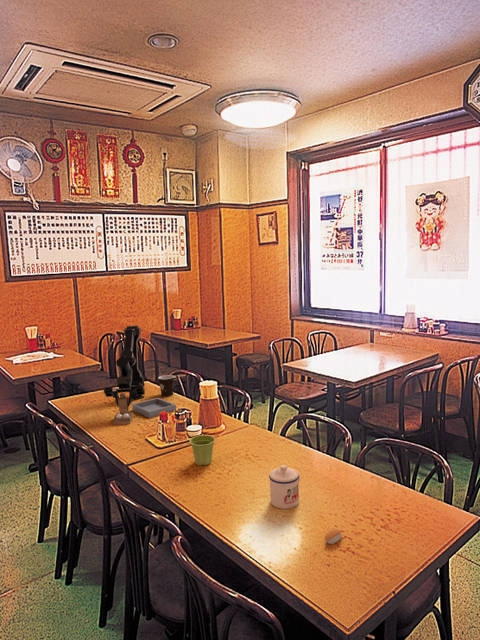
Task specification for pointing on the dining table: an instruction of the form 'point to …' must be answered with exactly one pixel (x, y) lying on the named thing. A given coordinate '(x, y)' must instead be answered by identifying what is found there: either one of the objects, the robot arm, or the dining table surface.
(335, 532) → the sushi
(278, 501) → the teacup with lid
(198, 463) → the plant pot
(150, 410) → the bin
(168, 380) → the coffee mug
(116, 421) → the brown wooden box
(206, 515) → the dining table surface
